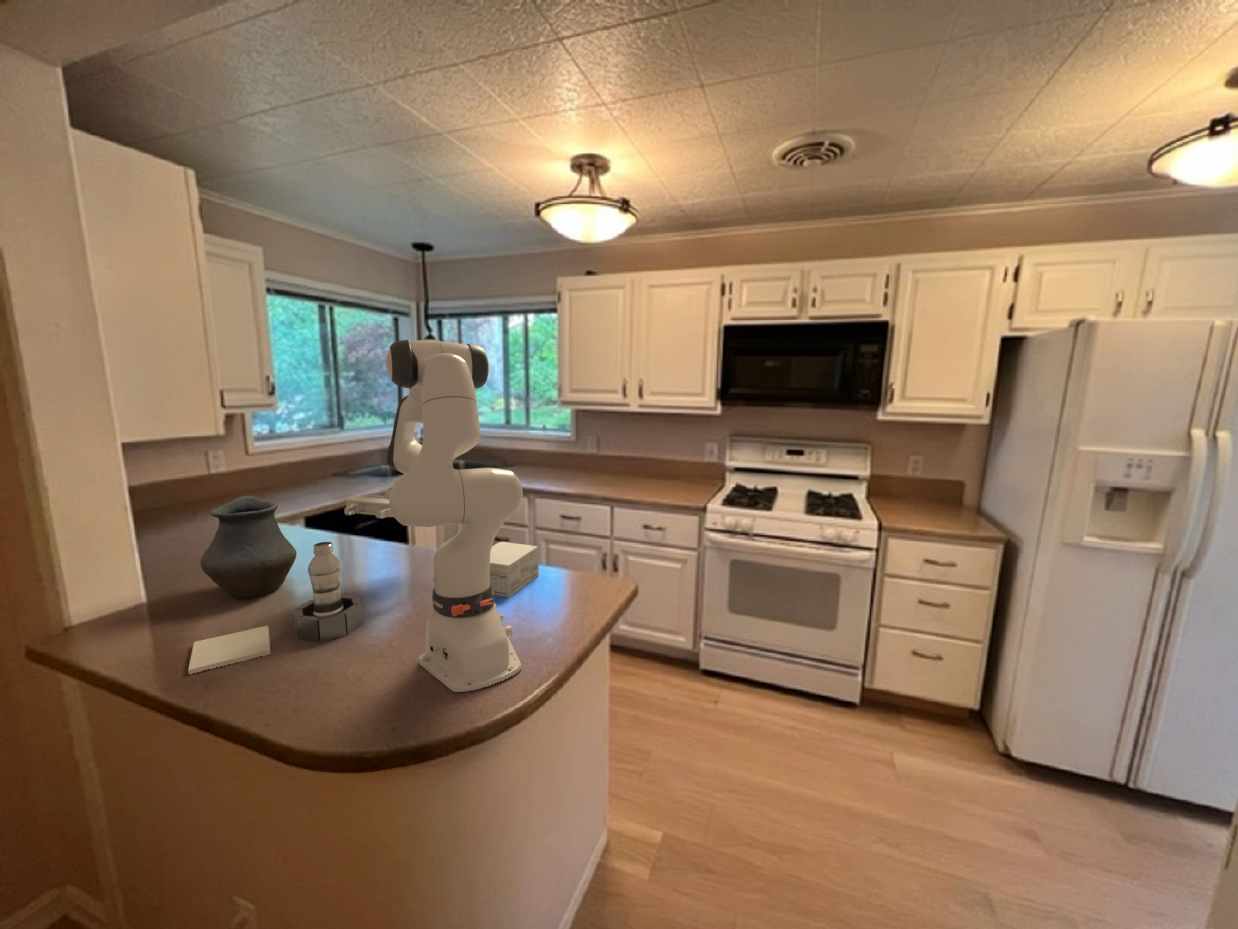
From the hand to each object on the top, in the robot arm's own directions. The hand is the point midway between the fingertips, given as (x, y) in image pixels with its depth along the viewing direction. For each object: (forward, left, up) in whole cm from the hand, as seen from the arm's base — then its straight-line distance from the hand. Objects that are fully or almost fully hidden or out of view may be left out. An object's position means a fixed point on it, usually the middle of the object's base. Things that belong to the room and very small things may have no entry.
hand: (362, 513), depth 124 cm
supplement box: (-6, -35, -24) cm, 43 cm away
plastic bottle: (-8, +9, -24) cm, 27 cm away
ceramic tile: (-8, +27, -24) cm, 37 cm away
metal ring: (-8, +9, -24) cm, 27 cm away
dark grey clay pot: (+27, +23, -24) cm, 44 cm away
